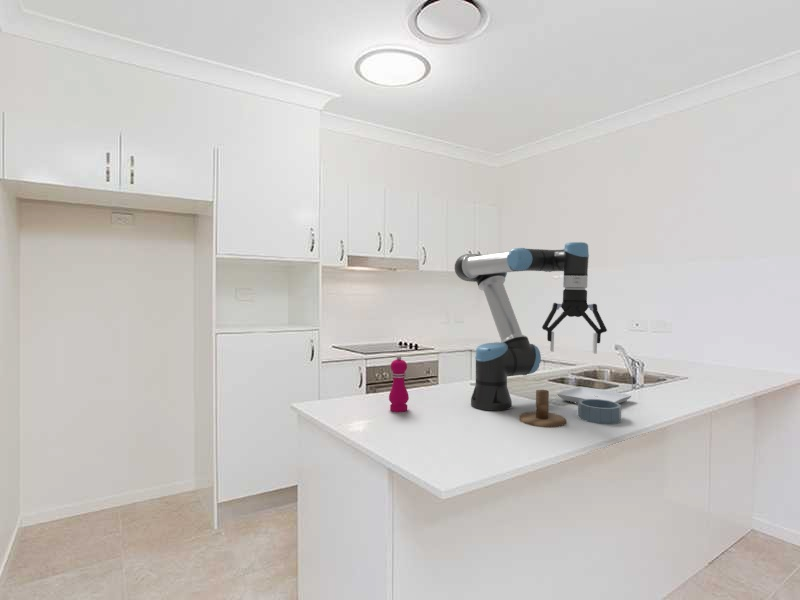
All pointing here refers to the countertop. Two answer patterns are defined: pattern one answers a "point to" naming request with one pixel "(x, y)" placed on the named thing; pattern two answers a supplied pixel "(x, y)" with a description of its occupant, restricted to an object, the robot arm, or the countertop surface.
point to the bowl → (599, 411)
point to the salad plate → (592, 395)
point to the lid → (542, 413)
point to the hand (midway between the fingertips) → (573, 352)
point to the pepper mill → (398, 386)
